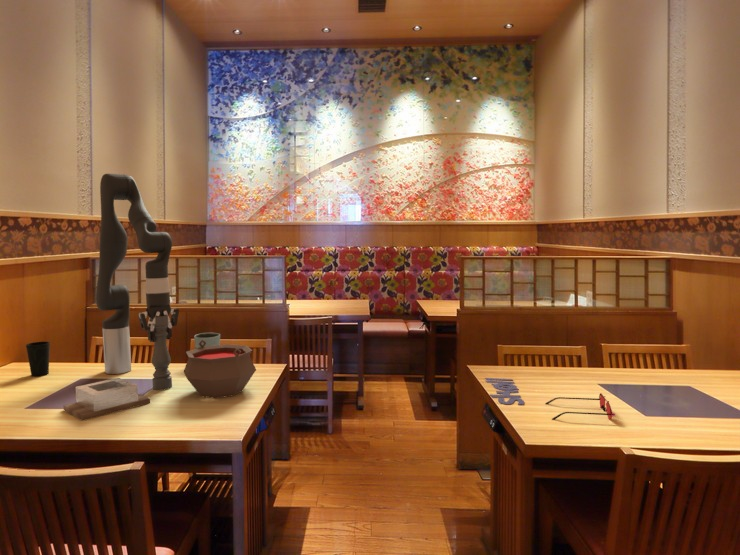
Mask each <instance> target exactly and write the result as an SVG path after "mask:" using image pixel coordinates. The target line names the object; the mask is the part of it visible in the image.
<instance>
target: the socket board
mask: <svg viewBox="0 0 740 555" xmlns="http://www.w3.org/2000/svg"><path fill="white" fill-rule="evenodd" d="M150 403H151V398H150V397H147V396H145V395H142V394H141V393H138V401H135V402H131V403H127V404H123V405H119V406H115V407H111V408H108V409H104V410H100V411H96V412H93V411H91V410H90V409H88V408H86V407H84V406H82V405H80V404H78V403H76V402H73V403H69V404H64V405H62V406H63V411H64V410H65V411H64V412H66V413H67V414H69V415H71V414H72V415H71V416H73V415H74V416H73V417H75V418H77V419H79V420H80V419H81V420H80V421H86V420H90V419H94V418H97V417H101V416H105V415H108V414H113V413H114V414H115V413H116V412H121V411H125V410H129V409H132V408H136V407H139V406H143V405H147V404H150Z"/></svg>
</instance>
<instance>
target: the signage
mask: <svg viewBox="0 0 740 555" xmlns="http://www.w3.org/2000/svg"><path fill="white" fill-rule="evenodd" d="M484 379H485V383H487V384H491V386H493V388H494V389H495V392H496V394H489V396H490V397H491V398H492V399H495V398H498V399H497V401H498V403H499V404H500V405H504V406H505V405H506V406H510V405H513V404H514V403H515V402H518V403H517V406H525V401H524V400H523V399H522V396H521V395H520V394H519V393H520V392H519V390H520V389H519V388H518V386H517V385H515V382H514V379H512V378H493V377H484ZM514 394H515V395H514ZM516 394H517V395H516ZM518 394H519V395H518ZM505 399H508V400H507V401H505Z"/></svg>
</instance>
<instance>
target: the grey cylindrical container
mask: <svg viewBox="0 0 740 555" xmlns="http://www.w3.org/2000/svg"><path fill="white" fill-rule="evenodd" d="M193 339H194V347H195V348H194V349H197V348H200V347H201V346H200V345H199V343H200V342H201V340H202V339H203V340H204V341H205V342H206V344H205V346H214V345H221V333H219V332H218V333H217V332H201V333H198V334H195V335H193ZM201 344H202V345H203V344H204V343H203V342H202V343H201Z"/></svg>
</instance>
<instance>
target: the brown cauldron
mask: <svg viewBox="0 0 740 555" xmlns="http://www.w3.org/2000/svg"><path fill="white" fill-rule="evenodd" d="M202 342H203V343H204V344H203V345H202V344H201V343H202ZM205 344H206V342H205V341H204V340H203V339H202V340H201V342H200V343H199V345H200V346H201V347H200V348H197V349H196V348H194V349H191V350H187V351H185V353H186V355H187V356H188V359H187V361H186V364H185V366H184V369H183V373H184V376H185V378H186V380H187V381H188V382H189V384H191V386H192V387H193V388H194V389H195V391H196V392H197V394H199V396H200V397H202V396H204V398H211V397H213V399H218V398H217V397H219V398H225V397H224V396H227V397H232V396H231V395H233V396H235V395H237V394H239V393H241V392H243V391H244V389H245V387H246V386H247V384H248V383H249V381H250V380H251V379H252V377H253V375H254V374H255V372H256V371H257V369H256V366H255V364H254V362H253V359H251V356H250V355H251V353H252V352H253V349H252V348H250V347H249V346H248V345H243V344H242V345H240V344H229V343H228V344H227V343H225V344H220V345H214V346H205ZM242 390H243V391H242ZM240 391H241V392H240Z"/></svg>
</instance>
